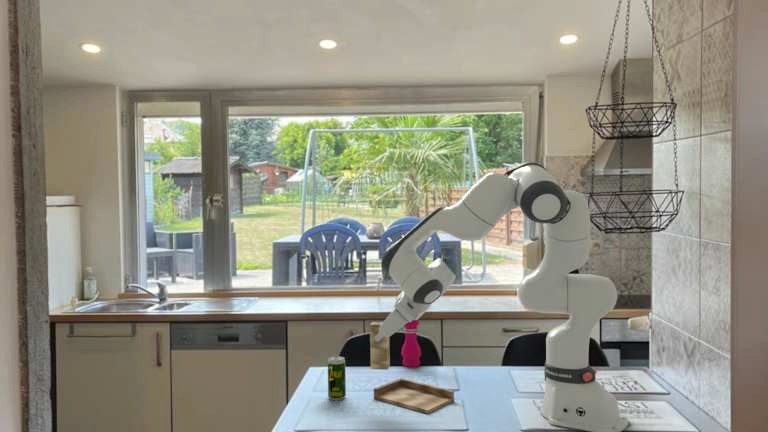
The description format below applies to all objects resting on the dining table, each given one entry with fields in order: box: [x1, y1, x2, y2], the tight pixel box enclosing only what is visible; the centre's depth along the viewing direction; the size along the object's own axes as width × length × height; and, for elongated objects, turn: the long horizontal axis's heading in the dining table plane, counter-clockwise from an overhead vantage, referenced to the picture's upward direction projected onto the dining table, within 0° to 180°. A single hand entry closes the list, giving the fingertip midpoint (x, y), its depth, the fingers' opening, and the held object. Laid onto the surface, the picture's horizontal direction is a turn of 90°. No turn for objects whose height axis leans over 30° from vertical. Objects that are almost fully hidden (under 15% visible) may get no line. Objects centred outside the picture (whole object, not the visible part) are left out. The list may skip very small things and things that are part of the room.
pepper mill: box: [400, 318, 422, 368], centre depth 205 cm, size 7×7×20 cm
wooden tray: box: [373, 377, 455, 415], centre depth 168 cm, size 20×13×3 cm, turn 49°
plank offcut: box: [369, 321, 391, 371], centre depth 164 cm, size 5×4×13 cm
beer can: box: [327, 356, 347, 401], centre depth 171 cm, size 5×5×12 cm
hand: (377, 337), depth 164 cm, fingers closed on plank offcut, 3 cm apart
